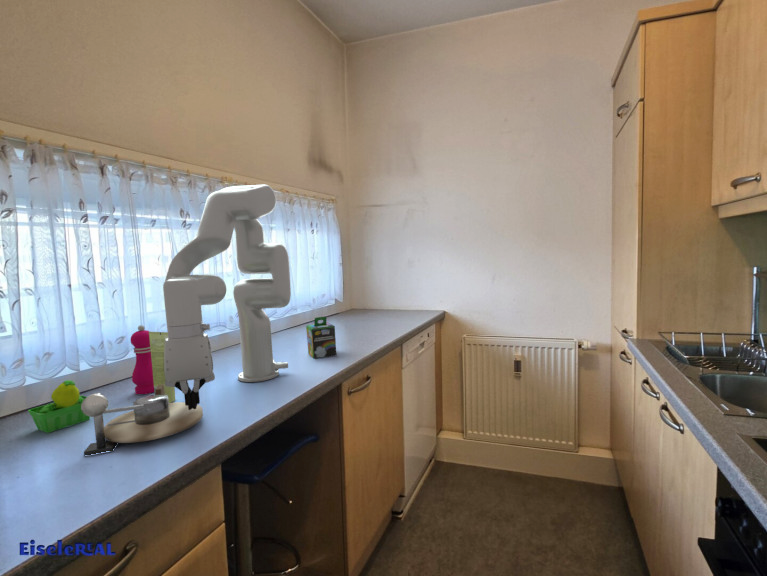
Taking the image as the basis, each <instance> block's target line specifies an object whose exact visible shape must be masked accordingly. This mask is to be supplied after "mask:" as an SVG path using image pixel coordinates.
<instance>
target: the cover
mask: <svg viewBox="0 0 767 576" xmlns="http://www.w3.org/2000/svg"><path fill="white" fill-rule="evenodd" d="M132 404H133V405H132V406H136V405H143V404H144V408H141V409H134V416H135V423H136V424H138V425H149V424H154V423H158V422H161V421H164V420H166V419H167V418H169V416H170V412H169V401H168V396H167V395H164V394H158V395H155V394H152V395H146V396H143V397H139V398H138V399H135V400H134V401H133V402H132Z"/></svg>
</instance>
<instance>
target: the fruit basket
mask: <svg viewBox="0 0 767 576" xmlns="http://www.w3.org/2000/svg"><path fill="white" fill-rule="evenodd" d="M87 397H88V396H85V395H80V389H79V388H78V387H77V386H76V383H75V381H73V380H69V379H68V380H64V381H63V382H62V383H60V384H59V385H58V386H57V387H56V388H55V389H54V390H53V391H52V393H51V400H52V401H53V402H51V403H48V404H44V405H41V406H37V407H33V408H30V409H28V410H27V411H28V414H29V415H30V416H31V418H32V421H33V422H34V424H35V426H36V428H37V430H39V431H41V432H45V433H46V434H49V433H52V432H55V431H57V430H62V429H64V428H68V427H70V426H73V425H77V424H80V423H84V422H86V421H89V420H90V419H91V417H89V416H87V415H85V414H84V413H83V412H82V410H81V404H82V402H83V401H84V400H85V399H86V398H87Z"/></svg>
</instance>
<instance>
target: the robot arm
mask: <svg viewBox="0 0 767 576" xmlns="http://www.w3.org/2000/svg"><path fill="white" fill-rule="evenodd" d="M276 205H277V196H276V192H275V190H274V189H273V188H272V187H271V186H270V185H268V184H250V185H233V186H227V187H224V188H221V189H219V190H217V191H213V192H211V193H210V194H209V195H208V196H207V198H206V200H205V204H204V207H203V212H202V214H201V219H200V221H199V225H198V229H197V233H196V235H195V236H194V238H193V239H191V240H190V241H189V242H188V243H186V245H184V246H183V247H182V248H181V250H179V251H178V252H177V254H176V255H174V257H173V258H172V259H171V262H170V264H169V265H168V266H169V267H168V269H167V273H166V276H165V280H164V282H163V284H162V287H163V288H162V289H163V291H162V292H163V299H164V308H165V319H166V320H165V321H166V328H167V329H166V332H168V338H166V339H165V346H164V373H165V379H166V381H165V386H166V387H175V389H178V390H179V391H181V392H182V394H184V402H185V406H187V405H188V409H189V410H191V409H192V408H193V409H196V408H197V405H199V404H200V403H201V402H200V400H201V399H200V390H201V388H202V387H203V386H204V385H206V384H207V383H210V382H213V381H215V379H216V376H215V374H214V362H213V354H212V348H211V343H210V337H209V335H208V333H204V332H205V331H208V330H211V329H210V328H211V326H210V323H205V322H203V314H202V313H203V311H202V307H203V306H209V305H210V306H211V305H217V304H218V303H220V302H221V301H222V300H224V298H225V296H226V294H227V284H226V283H225V281H224V279H223V278H221V277H220V276H218V275H215V274H191V273H192V272H193V271H194V269H195V268H197V267H198V266H199V265H200V264H202V263H203V262H205V261H208V260H209V259H212V258H213V257H215V256H217V255H220V254H222V253H223V252H225V251H227V250H228V249H229V248H230V246H231V243H232V238H233V232H234V234H235V235H234V236H235V246H236V248H235V249H236V263H237V268H238V270H239V271H240V273H243V274H245V275H267V274H269V275H270V274H271V277H265V278H263V277H262V278H261V277H260V278H259V277H257V278H256V277H255V278H244V279H241V280H240V281H238V282H237V283H235V285H234V288H233V299H234V302H235V303H234V304H235V306H236V310H237V316H238V324H239V325H238V326H239V341H240V351H241V353H240V354H241V364H242V372H240V373H238V375H237V378H238V381H241V382H243V383H244V382H245V383H258V382H264V381H268V380H272V379H275V378H276V377H278V376H279V374H280V371H279V370H280V369H281V370H282V369H289V363H288V361H287V362H284V361H279V362H276V361H275V360H274V355H273V342H272V341H273V340H272V326H271V325H272V324H271V320H270V317H269V316H268V314H267V313H266V311H265V310H264V309H281V308H285V307H287V306H288V305H289V304H290V301H291V296H292V295H291V292H292V290H291V289H292V287H291V272H290V269H291V268H290V258H289V257H290V256H289V252H288V250H287V248H286V247H285V245H283V244H281V243H279V242H277V243H276V242H269V243H268V242H265V235H264V234H265V233H264V227H263V225H262V223H261V222H260V220H259V219H260V218H264V217H266V216H267V215H269V214H271V213H272V212H273V211H274V210H275V208H276ZM192 380H193V387H192V389H191V387H190V385H189V382H188V381H192Z"/></svg>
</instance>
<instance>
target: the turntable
mask: <svg viewBox="0 0 767 576" xmlns="http://www.w3.org/2000/svg"><path fill="white" fill-rule="evenodd" d="M155 393H156V395H158V394H164V384H162V385H158V386H157V388H156V389H155ZM155 393H154V394H155ZM164 395H165V394H164ZM169 412H170V416H169V418H167V419H166V420H164V421H161V422H158V423H154V424H149V425H138V424H136V423H135V416H134V410H130V411H129V412H128V411H127V412H125V413H123V414H120V415H118V416H116V417H114V418H113V419H111V420H109V421H108V422H107V423H106V424H104V431H105V440H106V441H112V442H118V444H119V443H121V444H123V443H124V444H129V443H131V444H133V443H141V442H148V441H149V442H150V441H154V440H157V439H163V438H165V437H169V436H172V435H175V434H179V433H181V432H183V431H185V430H188V429H190V428H192V427H193V426H195V425H197V423H199V422H200V421H201V420H202V419H203V416H204V413H203V408H202V406H201V405H199V404H197V408H196V409H193V408H192V409H191V410H189V409H188V405H187V406H185V401H184V402H183V401H182V402H180V401H179V402H177V401H174V402H171V403H169Z"/></svg>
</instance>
